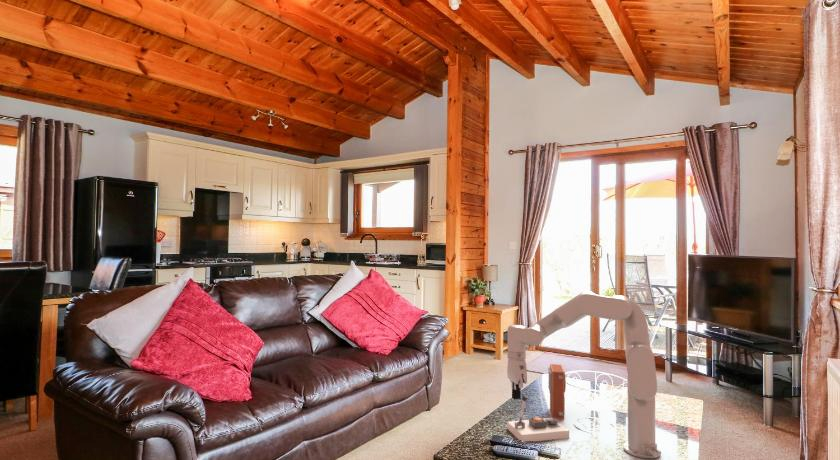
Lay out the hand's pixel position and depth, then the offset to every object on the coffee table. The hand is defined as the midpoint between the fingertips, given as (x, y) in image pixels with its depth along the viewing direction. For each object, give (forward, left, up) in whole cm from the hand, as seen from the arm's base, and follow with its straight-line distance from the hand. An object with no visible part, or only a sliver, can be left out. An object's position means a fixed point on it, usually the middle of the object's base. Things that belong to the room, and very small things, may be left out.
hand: (516, 398), depth 196 cm
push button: (-3, -8, -10) cm, 13 cm away
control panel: (+15, -27, -14) cm, 34 cm away
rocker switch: (-3, -15, -9) cm, 18 cm away
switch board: (-3, -8, -14) cm, 16 cm away
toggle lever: (-3, 0, -9) cm, 10 cm away
